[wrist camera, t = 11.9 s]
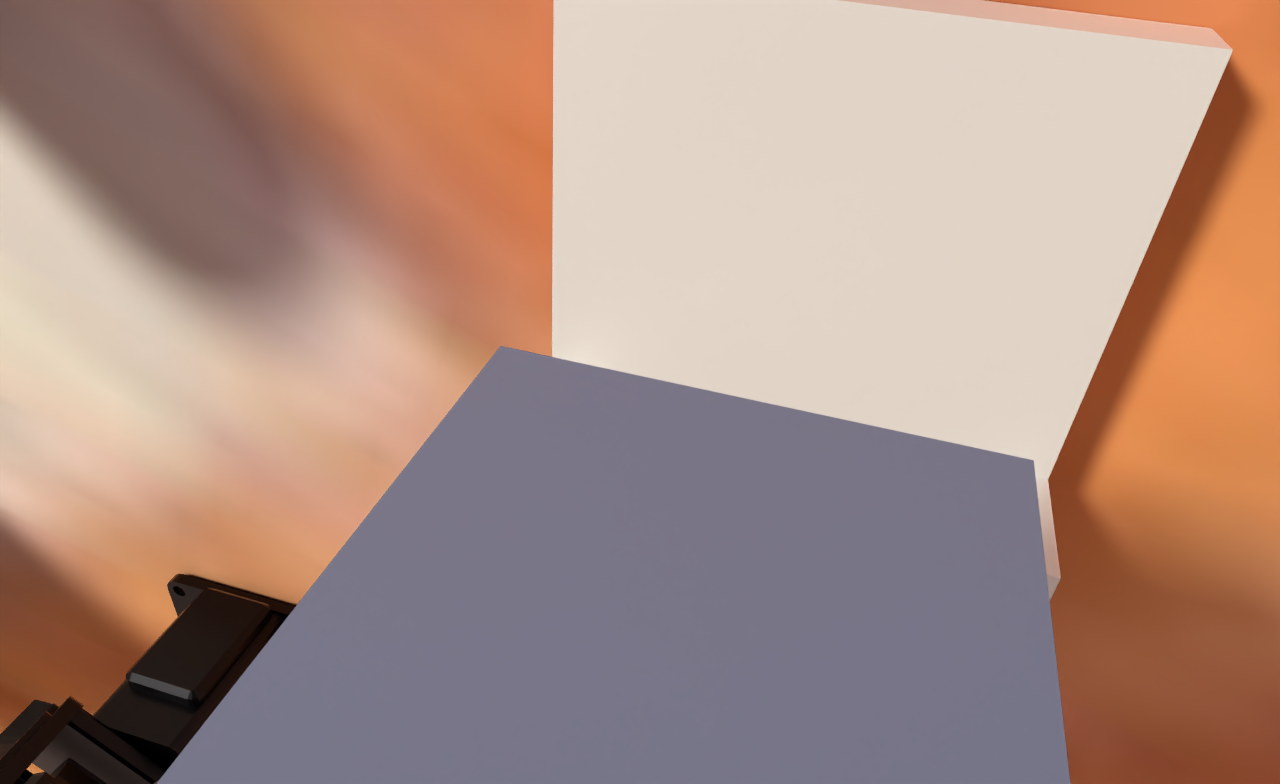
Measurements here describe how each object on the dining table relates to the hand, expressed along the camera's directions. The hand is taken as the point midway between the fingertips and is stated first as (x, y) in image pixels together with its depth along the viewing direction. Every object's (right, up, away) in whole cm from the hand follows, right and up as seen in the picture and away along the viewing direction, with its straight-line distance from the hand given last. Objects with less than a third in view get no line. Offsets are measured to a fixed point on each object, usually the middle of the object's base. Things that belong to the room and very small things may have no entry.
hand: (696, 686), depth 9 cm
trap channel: (+3, +1, +14) cm, 15 cm away
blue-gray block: (0, +1, +1) cm, 1 cm away
